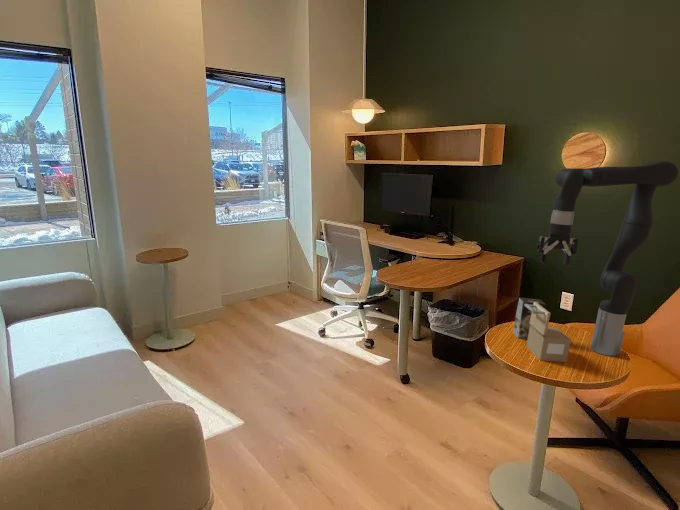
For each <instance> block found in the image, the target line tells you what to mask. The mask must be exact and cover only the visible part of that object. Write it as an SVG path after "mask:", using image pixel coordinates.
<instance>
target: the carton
mask: <svg viewBox="0 0 680 510" xmlns="http://www.w3.org/2000/svg"><path fill="white" fill-rule="evenodd" d="M526 340H527V341H526V347H527V348H528V350H529V351H530V352H531V353H532V354H534V356H535V357H536V358H537V359H538V360H539V361H546V362H547V361H548V362H561V363H563V362H564V363H567V362H568V356H569V351H570V346H571V341H572V339H571V338H570V337H568V335H566V334H565V333H563V332H562V331H561V330H560V329H559V328H557V327H556V326H549V325H548V327H547V331H546V336H545V337H543V336H542V335H541V334H540V333H538V332H537V331H536V330H535V329H534V328H533V327H532V326H531V325H530V328H529V334H528V339H526Z"/></svg>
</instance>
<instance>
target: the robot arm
mask: <svg viewBox="0 0 680 510" xmlns="http://www.w3.org/2000/svg"><path fill="white" fill-rule="evenodd" d="M678 176H679V168H678V166H677V165H676V164H675V163H674V162H671V161H669V160H668V161H667V160H650V161H646V162H645V163H643V164H642V165H638V166H596V167H589V168H580V167H579V168H577V167H576V168H574V167H573V168H563V169H560V170H558V172H557V173H556V175H555V177H554V178H555V179H554V180H555V183H556V184H557V185H558V187H561V191H560V193H559V194H557V195H556V196H555V199H554V203H553V208H552V209H553V210H552V211H551V217H550V221H549V226H548V227H549V228H548V233H547V234H548V235H547V236H542V235H540V236H539V237H538V240H537V245H536V247H535V248H536V252H539V253H540V257H539V261H540V263H541V264H543V265H544V264H546V262H547V260H546V259H547V253H549V251H552V249H553V250H557V249H558V250H563V252H564V254H563V260H562V264H563V265H564V266H568V264H569V263H570V261H571V256H573V255H576V254H577V252H578V251H577V250H578V243H579V240H578V239H577V238H575V237H572V238H570V236H571V233H572V229H573V223H574V219H575V217H574V216H575V209H576V203H577V198H578V197H579V195H580V193H581V190H582V188H583V187H589V188H592V187H595V188H596V187H608V186H609V187H612V186H621V185H622V186H624V185H634V187H633V190H632V193H631V197H630V201H629V203H628V207H627V209H626V212H625V216H624V218H623V221H622V223H621V225H620V228H619V232H618V236H617V238H616V240H615V243H614V245H613V249H612V250H611V253H610V256H609V258H608V260H607V262H606V264H605V266H604V268H603V270H602V273H601V274H600V279H599V285H600V288H601V289H602V290H604V291H607V292H608V293H611V298H610V299H603V300H601V301H600V303H599V307H598V311H597V314H596V315H597V316H596V321H595V325H594V330H593V334H592V340H591V343H590V349H591V350H592V351H593V352H596V353H597V354H600V355H603V356H609V357H610V356H611V357H615V356H619V355H621V351H622V348H623V347H622V346H623V343H624V340H625V334H626V332H625V331H624V328H625V327H624V326H625V322H626V319H627V318H626V317H627V314H628V310H629V308H630V307H631V306H632V302H633V301H634V296H635V294H636V290H637V285H638V283H637V282H638V280H637V278H636V276H635V275H634V274H632V273H630V272H627V271H624V267H625V266H626V263H627V261H628V260H629V258H630V257H631V256H632V255H633V254H635V253H636V251H638V250H639V249H640V248H641V247H642V246H643V245H645V244H646V242H647V240H648V238H649V237H650V233H651V230H652V228H653V224H654V216H653V215H654V214H653V208H652V207H653V206H652V203H653V202H652V201H653V196H654V194H655V191H656V190H657V187H659V188H660V187H665V186H669V185H671V184H673V183H674V182H675V181H676V179H677V178H678ZM546 242H547V243H546ZM545 243H546V244H545ZM544 244H545V245H544ZM568 244H570V246H568Z"/></svg>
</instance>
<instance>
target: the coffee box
mask: <svg viewBox="0 0 680 510" xmlns="http://www.w3.org/2000/svg"><path fill="white" fill-rule="evenodd" d="M534 302H537V303H538V304H539V305H541V306H542V307H543V308H545V309H547V308H546V306H547V304H546V303H545V301H543V300H541V299H537V298H536V299H535V298H528V297H521V296H520V297H518V304H517V309H516V312H515V320H514V324H513V330H512V333H513V335H514V336H515V337H516V338H517V339H523V340H528V334H529V328H530V324H529V323H530V318H531V314H532V312H531V311H530V310H529V309H528V308H526V307H525V306H524V304H530V305H533V304H534ZM532 308H533V307H532Z"/></svg>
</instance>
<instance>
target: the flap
mask: <svg viewBox="0 0 680 510" xmlns="http://www.w3.org/2000/svg"><path fill="white" fill-rule="evenodd" d="M524 306H525V307H526V308H528V309H529V310H530V311H531V312H532V314H531V318H530V323H529V324H530V325H531V326H532V327H533V328H534V329H535V330H536V331H537V332H538V333H540V334H541V335H542V336H543V337H545V336H546V331H547V327H548V326H549V322H550V318H551V314H552V313H551V312H550V311H549V310H547V308H543V307H542V306H541V305H539V304H538V303H537V302H534V304H533V305H530V304H524ZM532 307H533V308H532Z"/></svg>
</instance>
